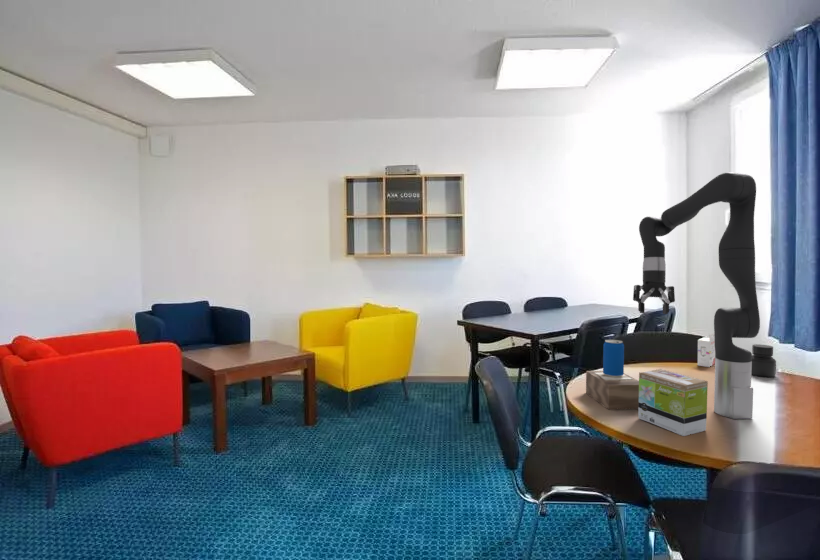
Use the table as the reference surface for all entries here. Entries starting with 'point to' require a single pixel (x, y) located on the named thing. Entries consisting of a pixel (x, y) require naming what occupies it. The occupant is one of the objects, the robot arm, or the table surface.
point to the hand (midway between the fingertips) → (653, 313)
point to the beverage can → (613, 358)
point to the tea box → (673, 401)
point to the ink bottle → (763, 361)
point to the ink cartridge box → (706, 351)
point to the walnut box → (613, 390)
